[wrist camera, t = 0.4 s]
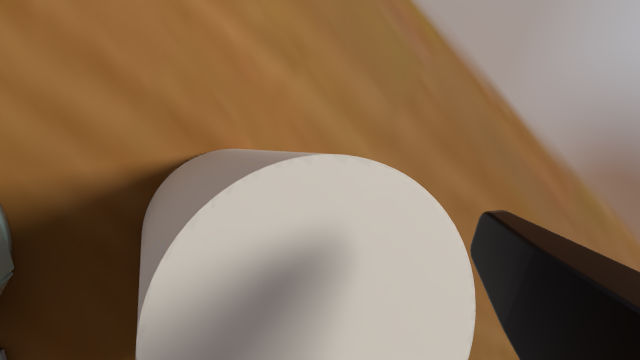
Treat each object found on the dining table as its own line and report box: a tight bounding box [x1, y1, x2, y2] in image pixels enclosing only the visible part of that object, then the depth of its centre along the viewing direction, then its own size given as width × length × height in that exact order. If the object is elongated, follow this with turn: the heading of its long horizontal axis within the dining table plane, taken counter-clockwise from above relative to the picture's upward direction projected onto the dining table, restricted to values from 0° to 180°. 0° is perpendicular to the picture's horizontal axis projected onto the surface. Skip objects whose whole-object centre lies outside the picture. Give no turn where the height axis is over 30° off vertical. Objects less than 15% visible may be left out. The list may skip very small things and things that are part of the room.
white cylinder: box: [136, 149, 475, 360], centre depth 16 cm, size 8×8×12 cm
